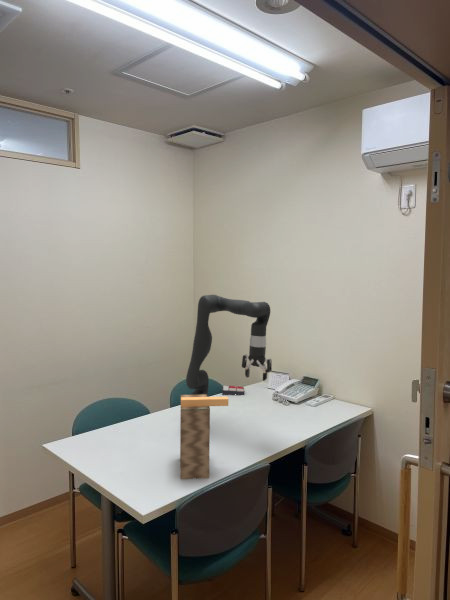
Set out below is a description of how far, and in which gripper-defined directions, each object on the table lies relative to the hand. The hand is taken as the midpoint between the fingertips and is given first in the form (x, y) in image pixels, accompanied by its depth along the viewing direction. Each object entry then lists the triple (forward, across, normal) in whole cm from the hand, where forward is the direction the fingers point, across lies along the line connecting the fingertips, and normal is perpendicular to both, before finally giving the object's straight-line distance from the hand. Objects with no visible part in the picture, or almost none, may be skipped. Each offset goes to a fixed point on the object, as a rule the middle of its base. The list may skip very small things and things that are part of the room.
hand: (255, 378), depth 208 cm
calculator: (+40, -54, +82) cm, 106 cm away
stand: (+37, -16, -26) cm, 48 cm away
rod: (+7, -11, -28) cm, 30 cm away
